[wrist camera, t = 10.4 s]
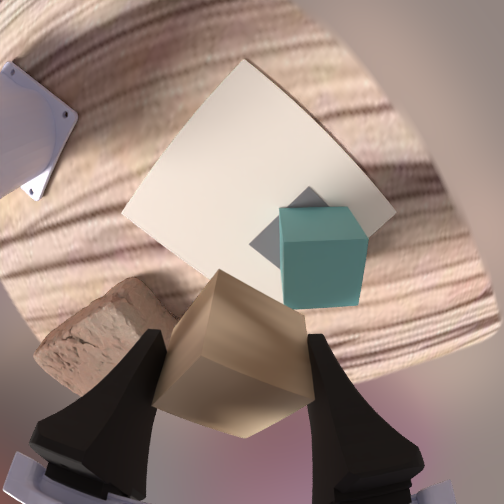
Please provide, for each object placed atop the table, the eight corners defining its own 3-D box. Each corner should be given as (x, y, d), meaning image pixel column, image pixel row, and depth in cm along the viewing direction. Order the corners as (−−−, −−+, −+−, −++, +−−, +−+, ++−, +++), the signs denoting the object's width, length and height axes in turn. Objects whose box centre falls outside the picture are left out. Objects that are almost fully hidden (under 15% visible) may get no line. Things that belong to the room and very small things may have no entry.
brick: (133, 268, 23) (110, 307, 18) (197, 335, 26) (188, 377, 22) (47, 329, 28) (29, 358, 23) (98, 374, 31) (85, 404, 27)
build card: (122, 212, 20) (120, 214, 19) (243, 59, 15) (243, 58, 14) (268, 318, 24) (268, 321, 24) (396, 211, 19) (397, 212, 19)
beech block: (173, 328, 14) (151, 405, 10) (219, 268, 12) (201, 355, 8) (249, 364, 15) (245, 438, 12) (304, 315, 13) (314, 400, 10)
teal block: (280, 267, 21) (284, 310, 17) (278, 208, 19) (283, 242, 15) (342, 264, 21) (358, 305, 17) (347, 206, 19) (368, 239, 15)
